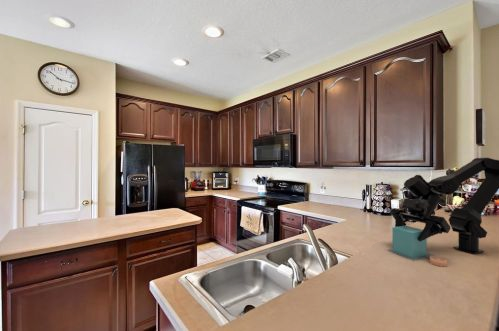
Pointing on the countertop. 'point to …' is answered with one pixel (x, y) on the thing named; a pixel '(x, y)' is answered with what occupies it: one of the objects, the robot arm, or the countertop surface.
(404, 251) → the teal rectangular block
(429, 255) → the mat
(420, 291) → the countertop surface
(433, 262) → the bowl
